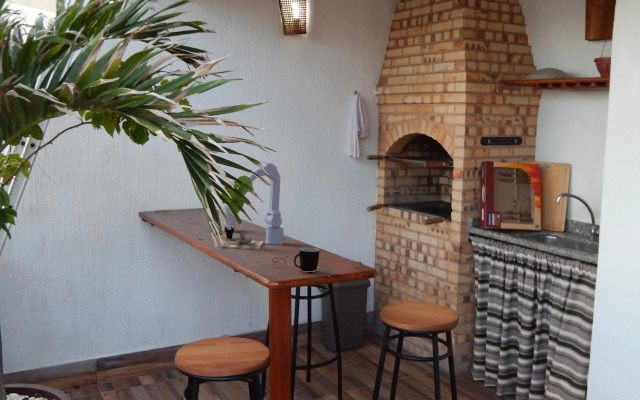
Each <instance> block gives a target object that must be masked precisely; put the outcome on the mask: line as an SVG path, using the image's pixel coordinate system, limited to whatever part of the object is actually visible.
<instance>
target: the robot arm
mask: <svg viewBox="0 0 640 400" xmlns="http://www.w3.org/2000/svg"><path fill="white" fill-rule="evenodd" d="M260 163H261V164H262V165H263V167H264V169H265V171H266V172H267V173H268V174H269V176H268V175H267V174H266V173H265V172H264V171H263V170H262V169H261V168H259V167H258V165H256V166H255V168H254V170H252V172H255V173H256V174H258V175H259V177H265V176H266V177H267V178H268V179H269V180H270V181H269V182H270V184H271V185H272V186H270V184H269V202H268V209H267V212H266V216H265V217H264V220H265V224H266V232H265V233H266V234H265V241H264V242H263V244H264V245H280V246H282V245H283V243H284V240H285V239H284V227H281V225H282V223H283V219H282V217H281V215H282V214H281V211H280V196H281V194H280V193H281V192H280V191H281V175H280V173H279V171H278V167H277V166H276V165H275V164H273V163H271V162H270V163H269V162H266V161H262V162H260ZM247 177H249V178H250V179H251V180H252V183H254V181H255V180H256V179H258V177H256V176H255V175H253V174H251V173H250V174H249V175H248V176H247ZM224 209H225V214H226V216H227V219H228V221H229V222H230V223H231V225H232V226H234V228H235V229H236V227H235V226H236V225H237V223H236V220H235V218H234V216H233V214H232V213H231V212H230V210H229V208H228V206H227V205H225V204H224ZM222 225H225V226H227V227H224V229H225V231H226V232H225V234H226V238H233V235H234V232H235V230H234V229H233V228H232V227H231V226H230V225H229V224H228V223H227V222H226V220H225V221H224V223H222Z"/></svg>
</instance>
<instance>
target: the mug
mask: <svg viewBox="0 0 640 400" xmlns="http://www.w3.org/2000/svg"><path fill="white" fill-rule="evenodd" d="M298 257H299V265H298V264H297V262H296V261H297V258H298ZM319 259H320V249H319V248H315V247H301V248H299V253H297V254H296V255H295V256H294V258H293V264H294V266H295V267H296V268H299V269H300V271H301V270H303V271H314V270H316V269H317V270H318V265H319ZM317 270H316V271H317Z"/></svg>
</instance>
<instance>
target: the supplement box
mask: <svg viewBox="0 0 640 400" xmlns="http://www.w3.org/2000/svg"><path fill="white" fill-rule="evenodd" d="M222 209H223V211H224V213H225V208H222ZM218 214H219V215H218V216H219V217H218V219H219V218H220V222H221V226H222V229H223V233H226V231H225V229H224V227H227V226H225V225H222V223H224V221H225V218H224V217H223V215H222V213H221V212H220V211H219V213H218Z"/></svg>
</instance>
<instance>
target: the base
mask: <svg viewBox="0 0 640 400" xmlns="http://www.w3.org/2000/svg"><path fill="white" fill-rule="evenodd" d="M239 237H240V238H241V239H245V237H246V234H245V233H241V232H240V235H239ZM222 243H224V246H222V245H221V244H220V245H219V248H220V249H233V250H234V249H235V250H249V251H250V250H251V251H252V250H253V251H260V249H261V247H262V246H263V244H264V241H263V240H252V242H249V243H239V240H236V242H225V240H224V241H223V242H222Z"/></svg>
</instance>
